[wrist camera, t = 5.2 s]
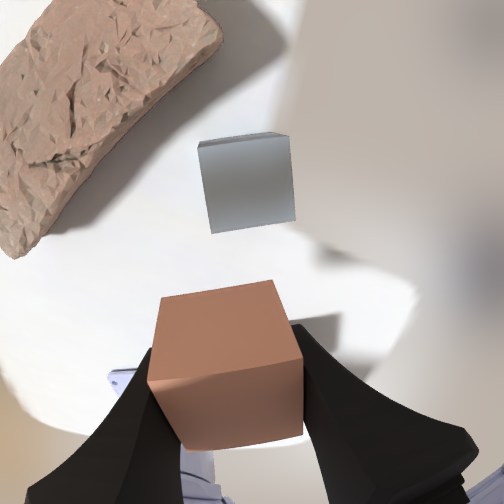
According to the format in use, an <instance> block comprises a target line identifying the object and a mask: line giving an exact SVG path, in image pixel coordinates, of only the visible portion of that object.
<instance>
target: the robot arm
mask: <svg viewBox="0 0 504 504" xmlns="http://www.w3.org/2000/svg"><path fill="white" fill-rule="evenodd" d="M291 328H292V331H293V333H294V336H295V338H296V341H297V343H298V346H299V348H300V351H301V354H302V356H303V421H304V423H305V426H306V428H307V431H308V433H309V436H310V438H311V441H312V443H313V446H314V449H315V452H316V456H317V459H318V463H319V466H320V469H321V474H322V477H323V481H324V485H325V489H326V492H327V496H328V500H329V504H504V464H503V465H502V466H501V467H500V468H499V469H498V470H496V471H495V472H494V473H492V474H491V475H490V476H488V477H487V478H485V479H484V480H483V481H481V482H480V483H478V484H477V485H475V486H474V487H473V488H471V489H469V490H468V491H466V492H465V490H464V488H463V487H462V484H463V483H464V481H465V480H464V478H463V476H462V475H461V473H462V472H463V471H464V470H465V469H466V468H467V467H468V466H469V465H470V464H471V462H473V461H474V459H475V458H476V457H477V455H478V453H479V449H478V447H477V446H476V444H475V443H474V441H473V439H472V438H471V436H470V435H469V434H468V433H467V432H466V430H465V429H464V428H462V427H459V426H455V425H452V424H448V423H445V422H441V421H438V420H435V419H432V418H430V417H427V416H425V415H422V414H420V413H417V412H415V411H413V410H411V409H409V408H407V407H405V406H403V405H401V404H399V403H397V402H395V401H393V400H391V399H389V398H388V397H386V396H384V395H383V394H381V393H379V392H378V391H376V390H375V389H373V388H372V387H370V386H369V385H367V384H366V383H364V382H363V381H362V380H360V379H359V378H357V377H356V376H355V375H354V374H352V373H351V372H350V371H349V370H347V369H346V368H345V367H344V366H343V365H341V364H340V363H339V362H338V361H337V360H336V359H335V358H334V357H332V356H331V355H330V354H329V353H328V352H327V351H326V350H325V349H324V348H323V347H322V346H321V345H320V344H319V343H318V342H317V341H316V340H315V339H314V338H313V337H312V336H311V335H310V334H309V332H308V331H307V330H306V329H305V328H304V327H303V326H302V325H301V324H296V325H291ZM151 351H152V348H149V350H148V351H147V353H146V354H145V356H144V358H143V360H142V361H141V363H140V365H139V367H138V368H137V370H134V371H121V372H109V373H108V375H107V379H108V381H109V383H110V384H111V386H112V388H113V389H114V391H115V392H116V394H117V396H118V397H119V399H118V401H117V402H116V403H115V405H114V406H113V408H112V409H111V411H110V412H109V414H108V415H107V416H106V418H105V419H104V420H103V422H102V423H101V424H100V425H99V427H98V428H97V429H96V430H95V431H94V433H93V434H92V435H91V436H90V437H89V438H88V439H87V440H86V441H85V443H84V444H82V445H81V447H80V448H79V449H78V450H77V451H76V452H75V453H74V454H73V455H71V456H70V457H69V458H68V459H67V460H66V461H65V462H64V463H63V464H61V465H60V466H59V467H57V468H56V469H55V470H54V471H52V472H51V473H50V474H48V475H47V476H46V477H44V478H43V479H41V480H40V481H38V482H37V483H35V484H34V485H32V486H30V487H29V488H28V490H27V494H26V499H25V503H24V504H235V503H234V502H233V500H232V499H230V498H229V497H226V496H222V495H221V487H220V485H219V484H214V483H215V470H214V458H213V450H211V451H201V452H187V451H186V449H185V448H184V446H183V444H182V443H181V441H180V440H179V438H178V436H177V435H176V433H175V431H174V430H173V428H172V426H171V425H170V423H169V421H168V420H167V418H166V416H165V414H164V412H163V411H162V409H161V407H160V405H159V404H158V402H157V400H156V398H155V396H154V394H153V392H152V390H151V389H150V387H149V385H148V383H147V377H148V370H149V364H150V358H151ZM115 381H116V382H115Z"/></svg>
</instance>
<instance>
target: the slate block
mask: <svg viewBox="0 0 504 504" xmlns="http://www.w3.org/2000/svg"><path fill="white" fill-rule="evenodd" d="M197 150H198V156H199V162H200V169H201V175H202V181H203V187H204V193H205V199H206V205H207V211H208V217H209V223H210V228H211V234H214V233H220V232H227V231H233V230H239V229H245V228H251V227H258V226H264V225H270V224H277V223H283V222H290V221H295V220H296V218H295V203H294V191H293V177H292V166H291V154H290V144H289V136H286V135H281V134H277V133H273V132H268V133H259V134H250V135H242V136H235V137H227V138H220V139H214V140H208V141H201V142H199V145H198V148H197Z"/></svg>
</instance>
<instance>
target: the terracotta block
mask: <svg viewBox="0 0 504 504" xmlns="http://www.w3.org/2000/svg"><path fill="white" fill-rule="evenodd" d="M147 383H148V385H149V387H150V389H151V390H152V392H153V394H154V396H155V398H156V400H157V402H158V404H159V405H160V407H161V409H162V411H163V412H164V414H165V416H166V418H167V420H168V421H169V423H170V425H171V426H172V428H173V430H174V431H175V433H176V435H177V436H178V438H179V440H180V441H181V443H182V444H183V446H184V448H185V449H186V451H187V452H201V451H211V450H220V449H228V448H236V447H243V446H249V445H255V444H261V443H267V442H272V441H277V440H282V439H287V438H291V437H296V436H300V435H303V356H302V354H301V351H300V348H299V346H298V343H297V341H296V338H295V336H294V333H293V331H292V328H291V326H290V323H289V320H288V318H287V315H286V313H285V310H284V308H283V305H282V303H281V300H280V298H279V295H278V293H277V290H276V288H275V285H274V283H273V280H267V281H262V282H256V283H250V284H244V285H238V286H233V287H227V288H220V289H214V290H208V291H202V292H196V293H189V294H183V295H176V296H170V297H163V298H161V302H160V307H159V312H158V318H157V323H156V328H155V334H154V340H153V345H152V351H151V358H150V364H149V370H148V377H147Z"/></svg>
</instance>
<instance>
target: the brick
mask: <svg viewBox="0 0 504 504" xmlns="http://www.w3.org/2000/svg"><path fill="white" fill-rule="evenodd" d="M223 41H224V39H223V32H222V28H221V27H220V25H219V24H218V23H217V22H216V21H215V20H214V19H213V18H212V17H211V16H210V15H209V14H208V13H206V12H204V11H203V10H201V8H200V6H199V4H198V1H197V0H53V1H52V2H51V4H50V5H49V6H48V7H47V8H46V9H45V10H44V12H43V13H42V15H41V16H40V17H39V18H38V19H37V20H36V21H35V22H34V24H33V25H32V27H31V28H30V29H29V31H28V34H27V36H26V38H25V39H24V40H22V41H21V42H20V43H19V44H17V45H16V46H15V48H14V49H13V50H12V52H11V53H10V54H9V55H8V56H7V58H6V59H5V60H4V61H3V63H2V64H1V65H0V247H1V249H2V250H3V251H4V252H5V254H6V255H7V256H9V257H11V258H12V259H14V260H15V259H17V258H19V257H22V256H25V255H26V254H27V253H28V252H29V251H30V250H31V249H32V248H33V247H35V246H36V245H37V243H38V242H39V241H40V239H41V237H42V236H43V235H45V234H46V233H47V232H48V230H49V229H50V228H51V226H52V225H53V224H54V223H55V221H56V220H57V218H58V216H59V215H60V213H61V212H62V210H63V209H64V207H65V206H66V204H67V202H68V201H69V199H70V198H71V197H72V196H73V194H74V193H75V191H76V190H77V189H78V188H79V187H80V185H81V184H82V183H83V182H84V181H85V180H86V179H87V178H88V177H89V176H90V175H91V174H92V172H93V170H94V168H95V167H96V165H97V164H98V163H99V162H100V160H101V159H102V158H103V157H104V156H105V155H106V154H108V153H109V152H110V151H111V150H112V149H113V147H114V146H115V145H116V144H117V142H118V141H119V140H120V139H121V138H122V137H123V136H124V135H125V134H126V133H127V132H128V131H129V130H130V129H131V128H132V127H133V126H134V125H135V124H136V123H137V122H138V121H139V120H140V119H141V118H142V117H143V116H144V115H145V114H146V113H147V112H148V111H149V110H151V109H152V108H153V105H154V104H156V103H157V102H158V101H159V100H160V99H162V98H163V97H164V96H165V95H166V94H167V93H168V92H169V91H170V90H171V89H172V88H174V87H175V86H176V85H177V84H178V83H180V82H181V81H182V80H183V79H184V78H185V77H187V76H188V75H189V74H190V73H191V72H192V71H193V70H194V69H195V68H196V67H198V66H200V65H201V64H203V63H204V62H205V61H206V60H207V59H209V58H210V57H211V56H213V54H214V53H215V52H216V51H217V50H218V49H219V48H220V46H221V44H222V42H223Z"/></svg>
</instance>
